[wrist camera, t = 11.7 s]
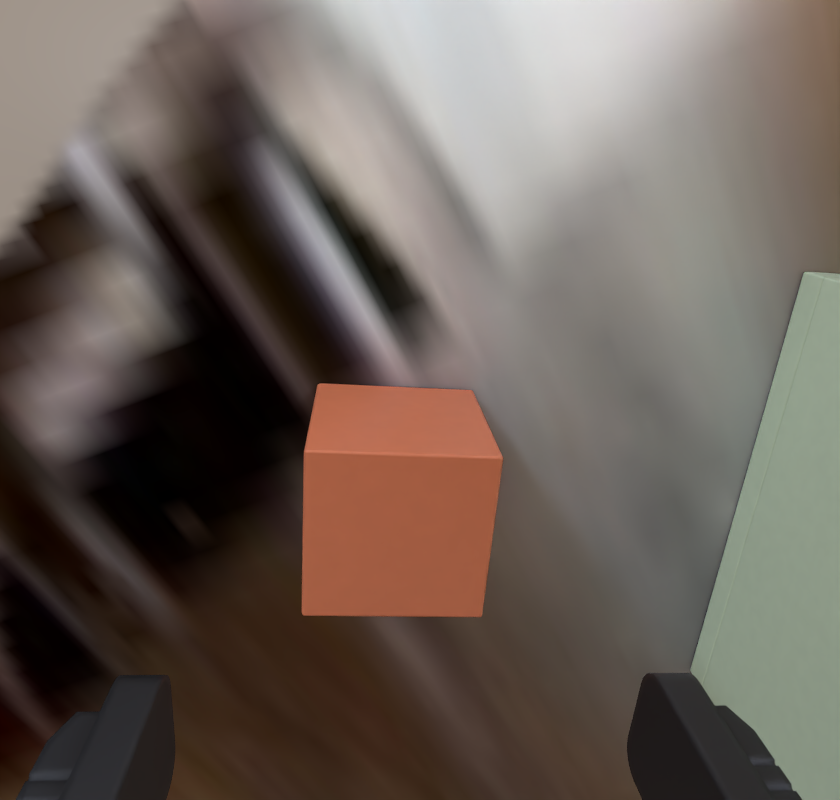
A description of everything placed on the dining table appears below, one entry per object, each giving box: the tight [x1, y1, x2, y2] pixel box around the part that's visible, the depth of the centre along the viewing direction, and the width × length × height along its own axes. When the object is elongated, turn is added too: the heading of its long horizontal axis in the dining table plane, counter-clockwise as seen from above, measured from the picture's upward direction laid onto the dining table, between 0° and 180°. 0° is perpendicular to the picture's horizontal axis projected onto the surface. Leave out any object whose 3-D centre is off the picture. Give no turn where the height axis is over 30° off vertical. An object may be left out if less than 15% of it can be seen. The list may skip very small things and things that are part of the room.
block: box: [302, 383, 503, 617], centre depth 18 cm, size 5×5×5 cm
